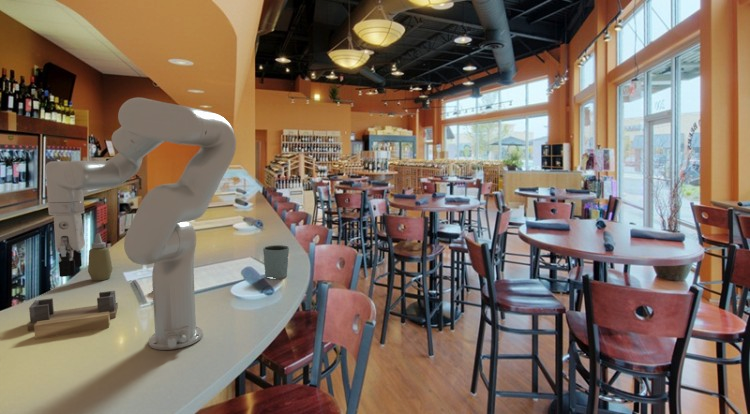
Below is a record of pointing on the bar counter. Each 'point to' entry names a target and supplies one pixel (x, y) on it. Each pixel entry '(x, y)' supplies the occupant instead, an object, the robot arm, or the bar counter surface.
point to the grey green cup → (276, 261)
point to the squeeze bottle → (99, 260)
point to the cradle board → (46, 311)
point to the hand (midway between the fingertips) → (71, 271)
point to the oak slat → (71, 325)
